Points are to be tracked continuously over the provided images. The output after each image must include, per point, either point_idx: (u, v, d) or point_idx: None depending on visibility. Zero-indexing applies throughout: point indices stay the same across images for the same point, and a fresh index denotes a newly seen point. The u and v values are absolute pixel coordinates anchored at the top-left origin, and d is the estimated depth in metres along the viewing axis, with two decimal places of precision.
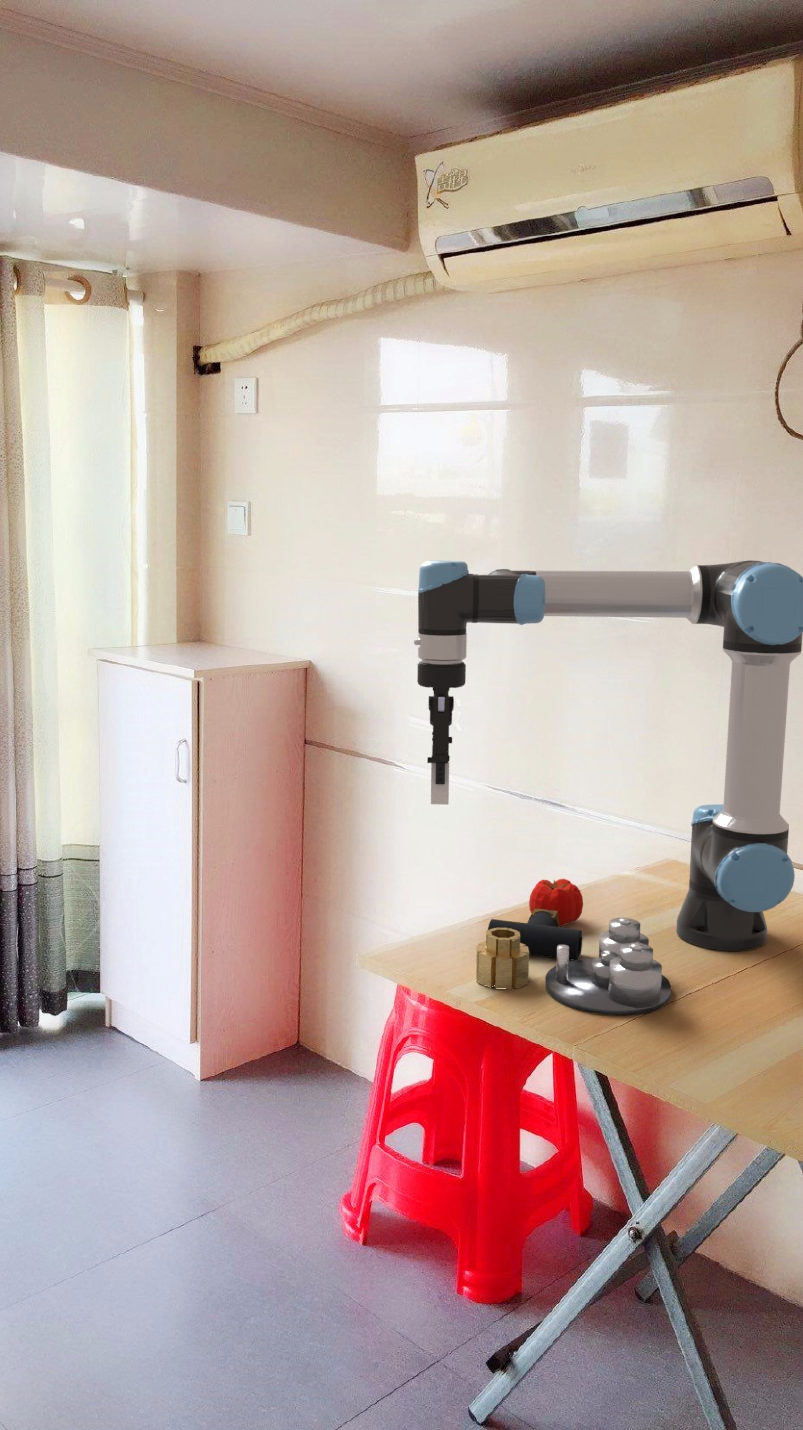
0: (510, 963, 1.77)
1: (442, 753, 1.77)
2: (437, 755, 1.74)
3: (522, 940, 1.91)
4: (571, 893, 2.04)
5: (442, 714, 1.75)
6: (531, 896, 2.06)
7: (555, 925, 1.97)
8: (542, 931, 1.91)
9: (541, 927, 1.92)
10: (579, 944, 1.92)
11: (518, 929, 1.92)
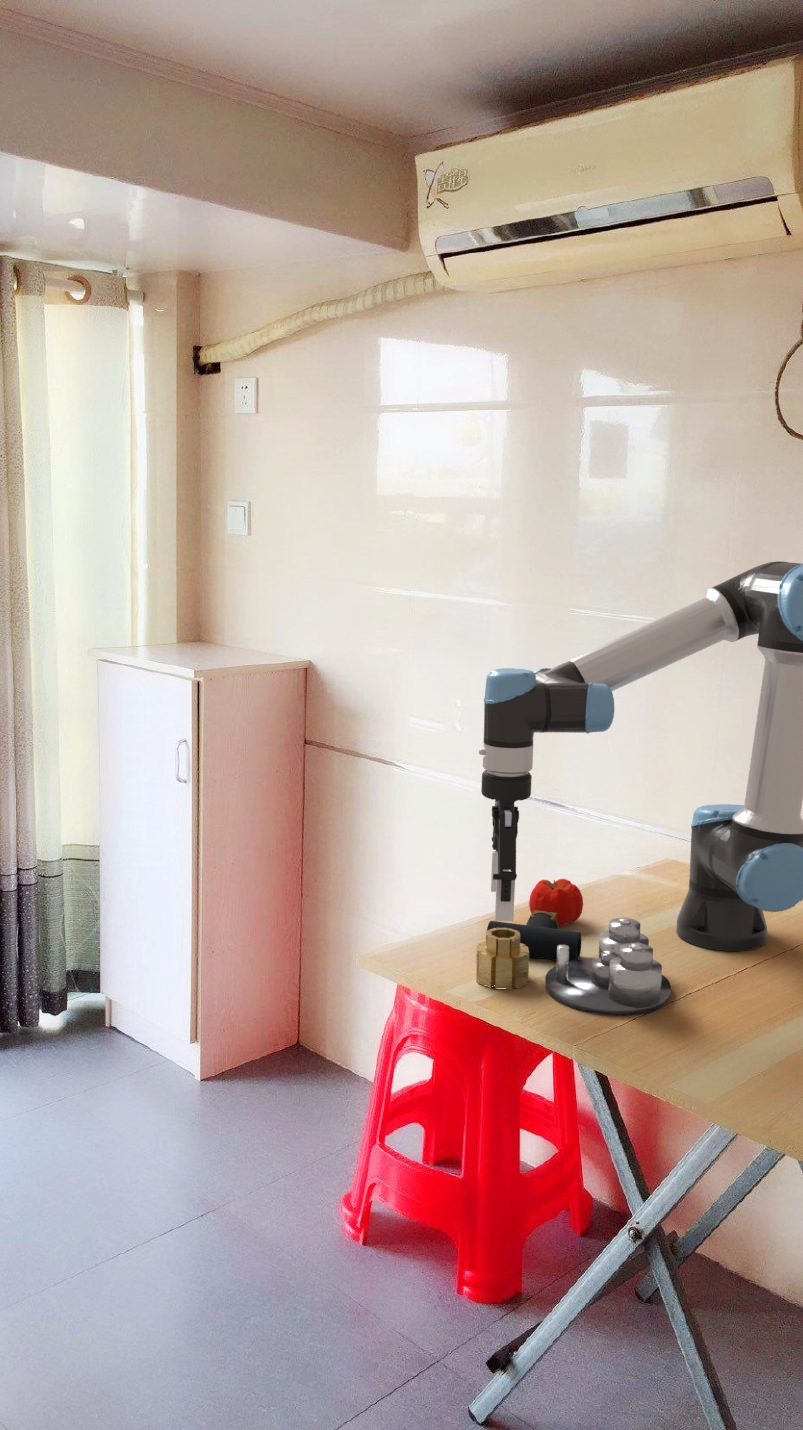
0: (510, 963, 1.77)
1: None
2: (504, 873, 1.69)
3: (521, 942, 1.90)
4: (571, 893, 2.04)
5: (509, 830, 1.70)
6: (531, 896, 2.06)
7: (554, 927, 1.96)
8: (541, 933, 1.90)
9: (540, 929, 1.91)
10: (578, 946, 1.91)
11: None
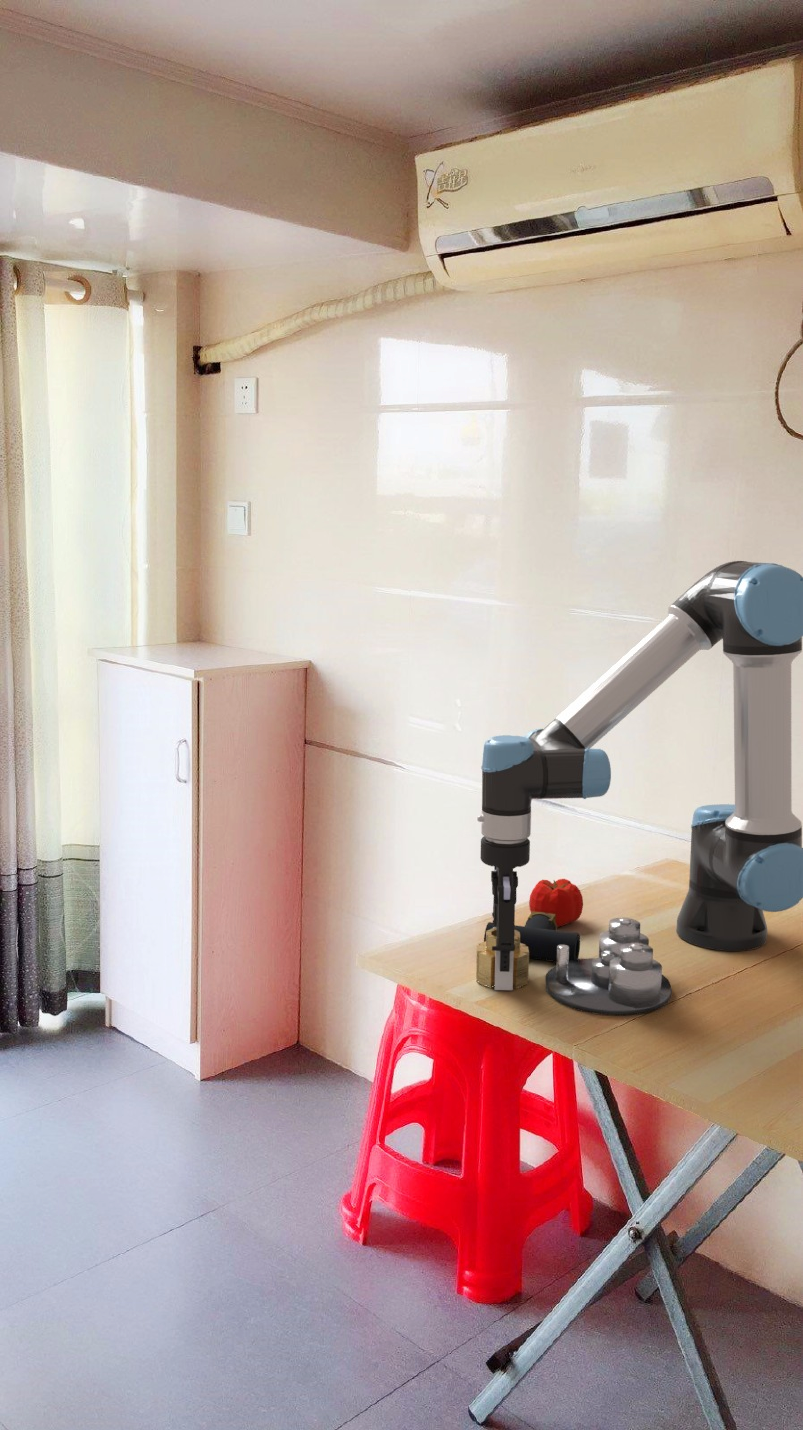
0: None
1: None
2: (502, 945, 1.73)
3: None
4: (571, 893, 2.04)
5: (508, 903, 1.73)
6: (531, 896, 2.06)
7: (553, 928, 1.96)
8: (539, 934, 1.89)
9: (538, 930, 1.90)
10: (577, 948, 1.90)
11: None
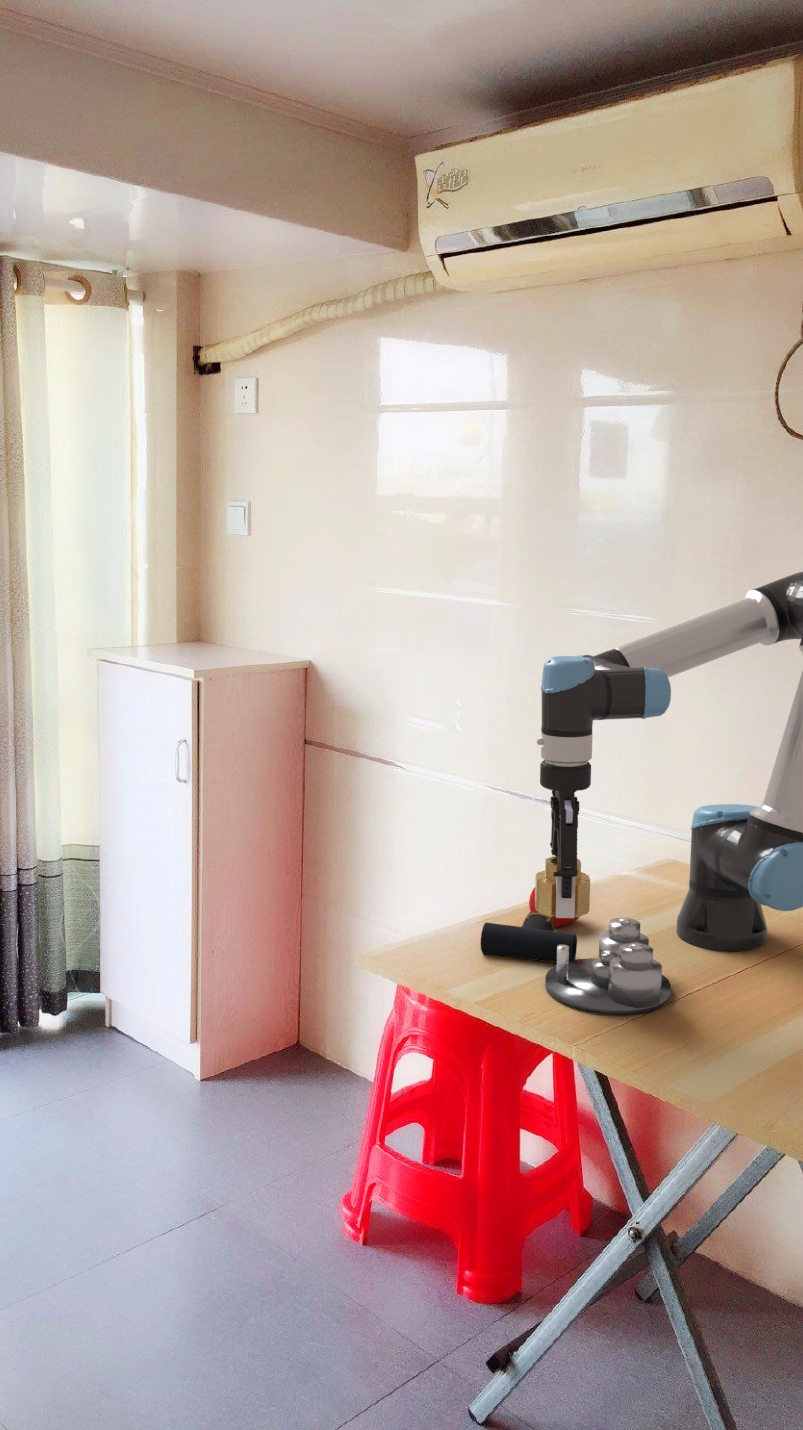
0: None
1: None
2: (565, 870, 1.68)
3: (516, 944, 1.89)
4: None
5: (570, 827, 1.68)
6: (531, 896, 2.06)
7: (550, 929, 1.95)
8: (536, 935, 1.89)
9: (535, 930, 1.90)
10: (574, 948, 1.90)
11: (512, 933, 1.90)
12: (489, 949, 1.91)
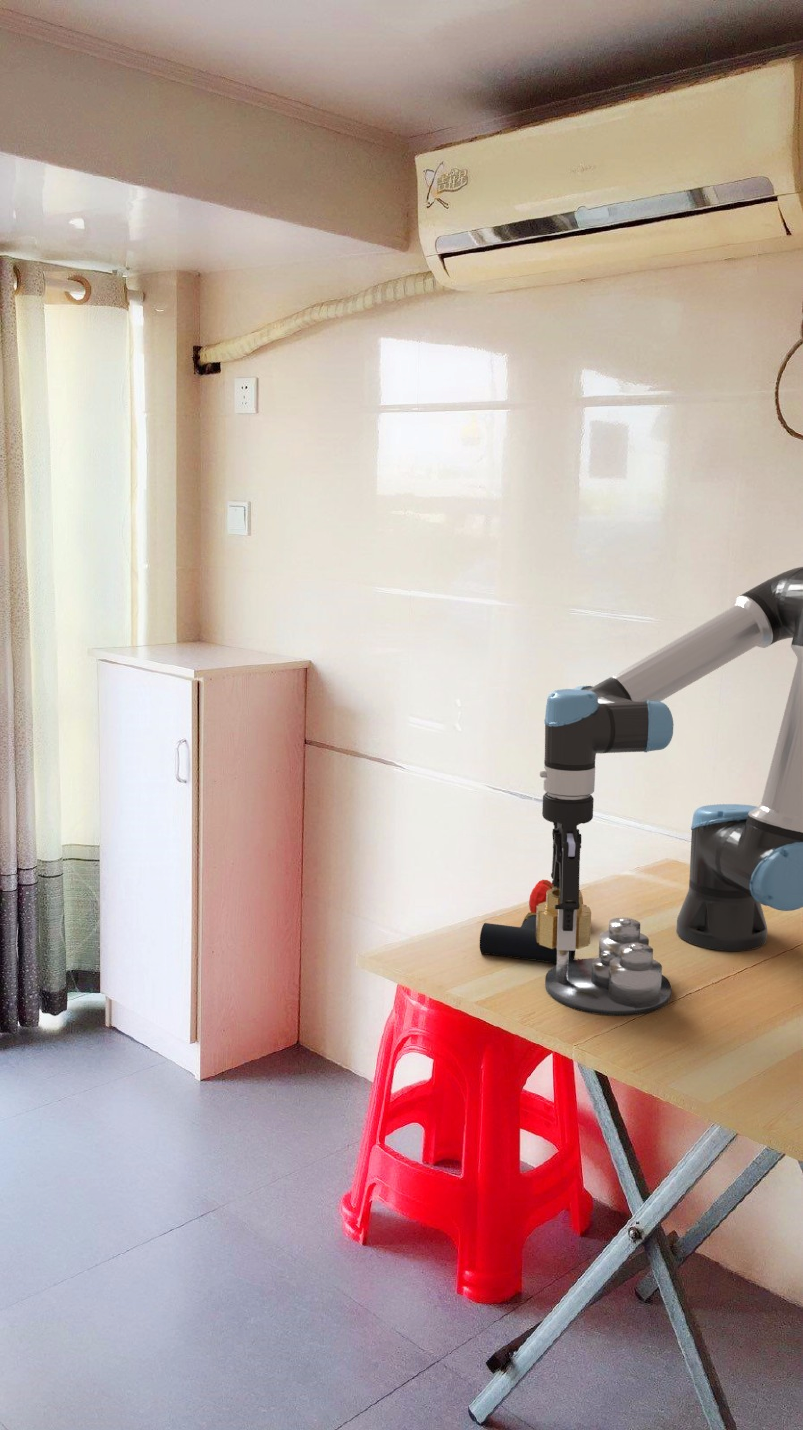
0: None
1: None
2: (567, 903, 1.68)
3: (515, 944, 1.89)
4: None
5: (572, 860, 1.68)
6: (531, 896, 2.06)
7: None
8: (535, 935, 1.89)
9: (534, 931, 1.90)
10: None
11: (511, 933, 1.90)
12: (488, 950, 1.91)
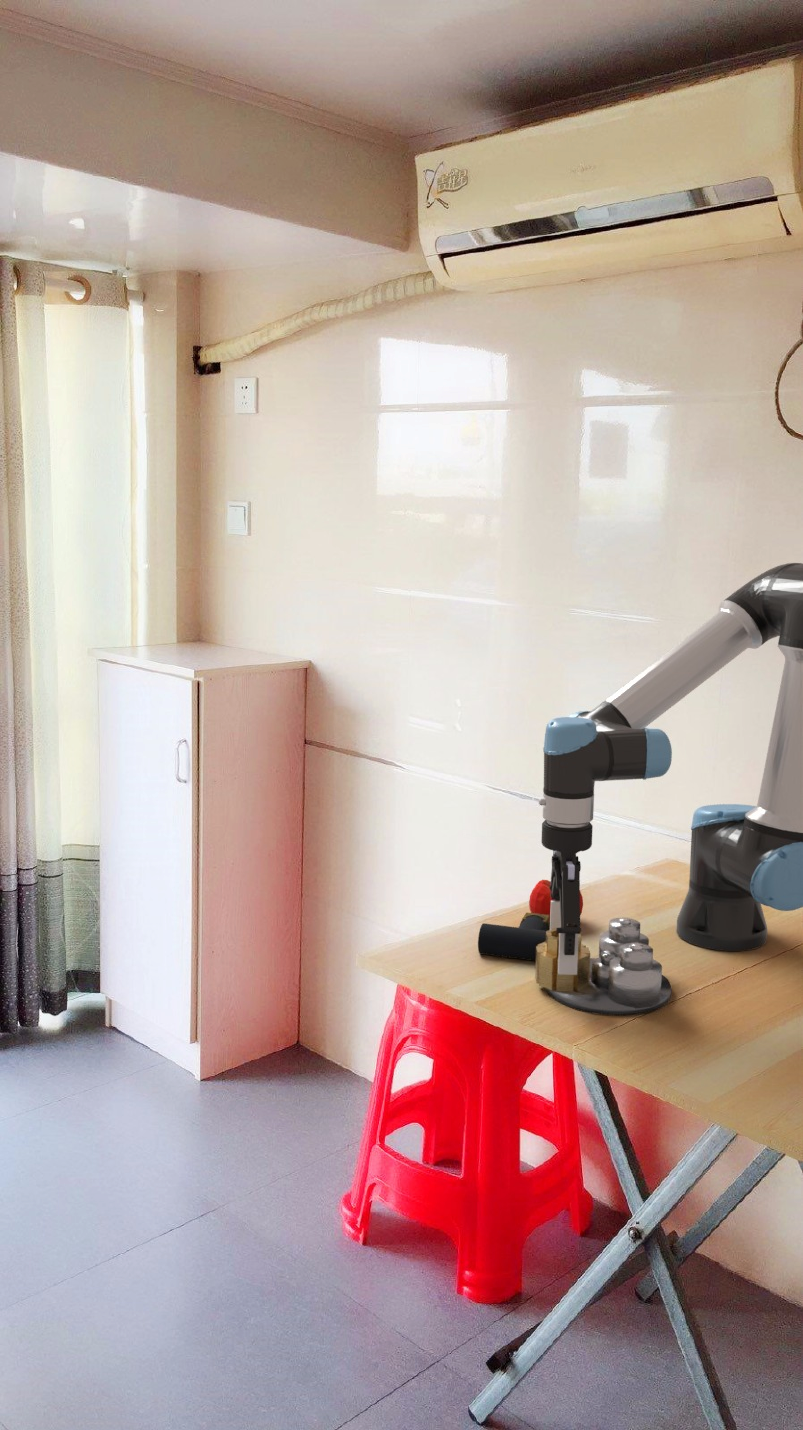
0: None
1: None
2: (568, 927, 1.67)
3: (514, 945, 1.89)
4: None
5: (572, 883, 1.68)
6: (531, 896, 2.06)
7: (547, 929, 1.95)
8: (534, 935, 1.89)
9: (532, 931, 1.90)
10: None
11: (509, 933, 1.90)
12: (486, 950, 1.91)
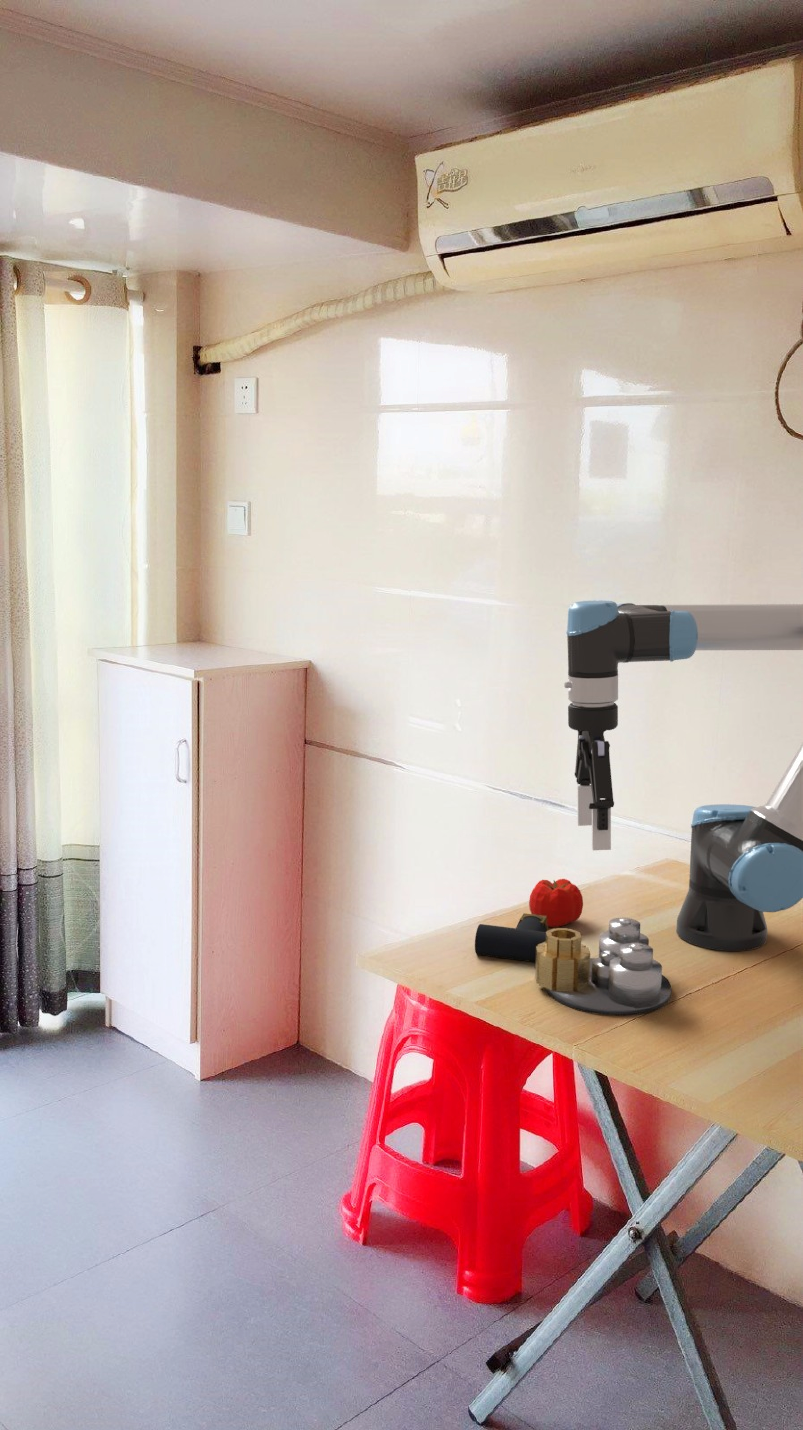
0: (572, 964, 1.74)
1: None
2: (602, 801, 1.70)
3: (510, 945, 1.89)
4: (571, 893, 2.04)
5: (602, 759, 1.72)
6: (531, 896, 2.06)
7: (544, 930, 1.95)
8: (531, 936, 1.88)
9: (529, 932, 1.89)
10: None
11: (506, 934, 1.89)
12: (483, 951, 1.91)
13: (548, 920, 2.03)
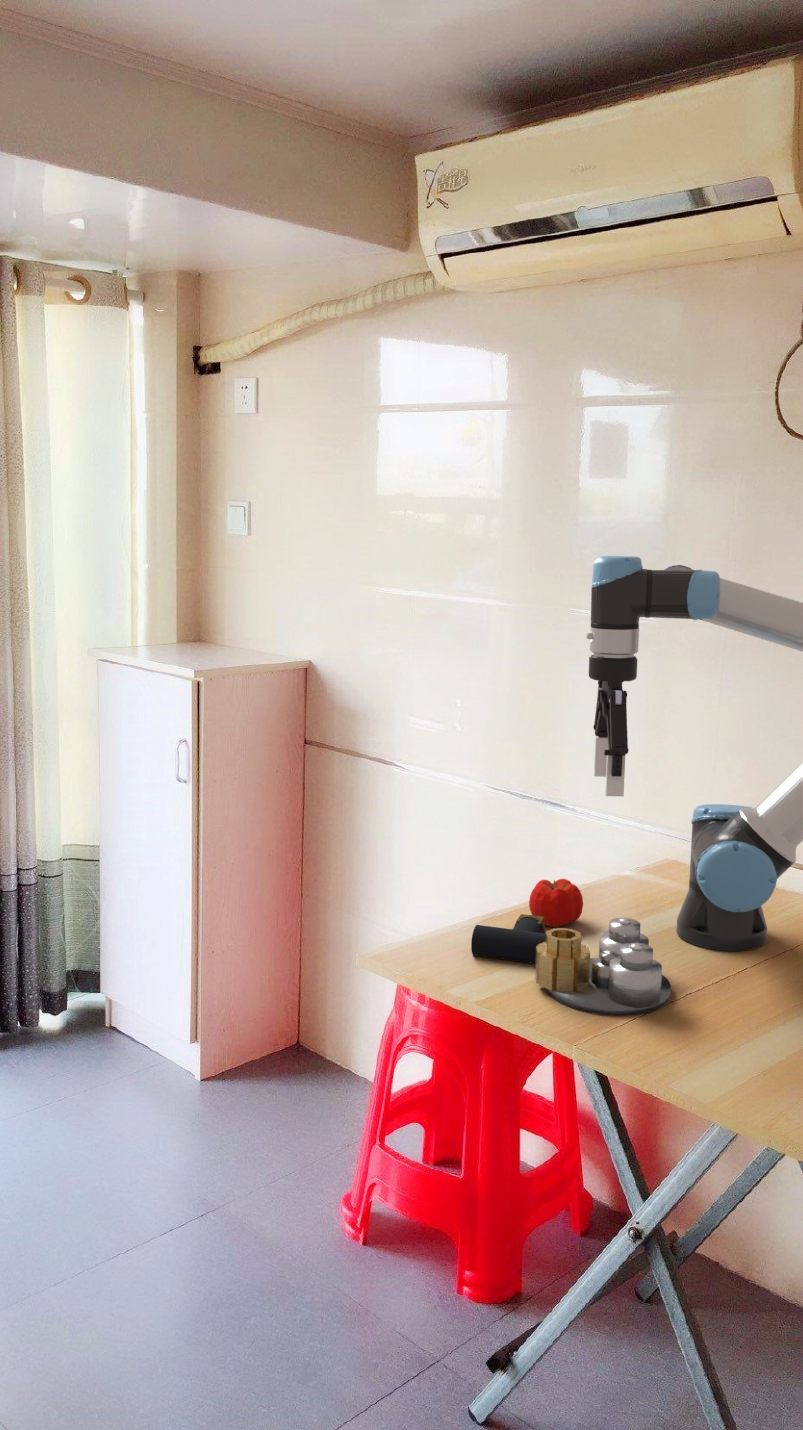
0: (572, 964, 1.74)
1: (618, 746, 1.80)
2: (616, 747, 1.76)
3: (507, 946, 1.88)
4: (571, 893, 2.04)
5: (619, 707, 1.78)
6: (531, 896, 2.06)
7: (541, 931, 1.94)
8: (527, 937, 1.88)
9: (526, 933, 1.89)
10: None
11: (503, 935, 1.89)
12: (479, 952, 1.90)
13: (548, 920, 2.03)
